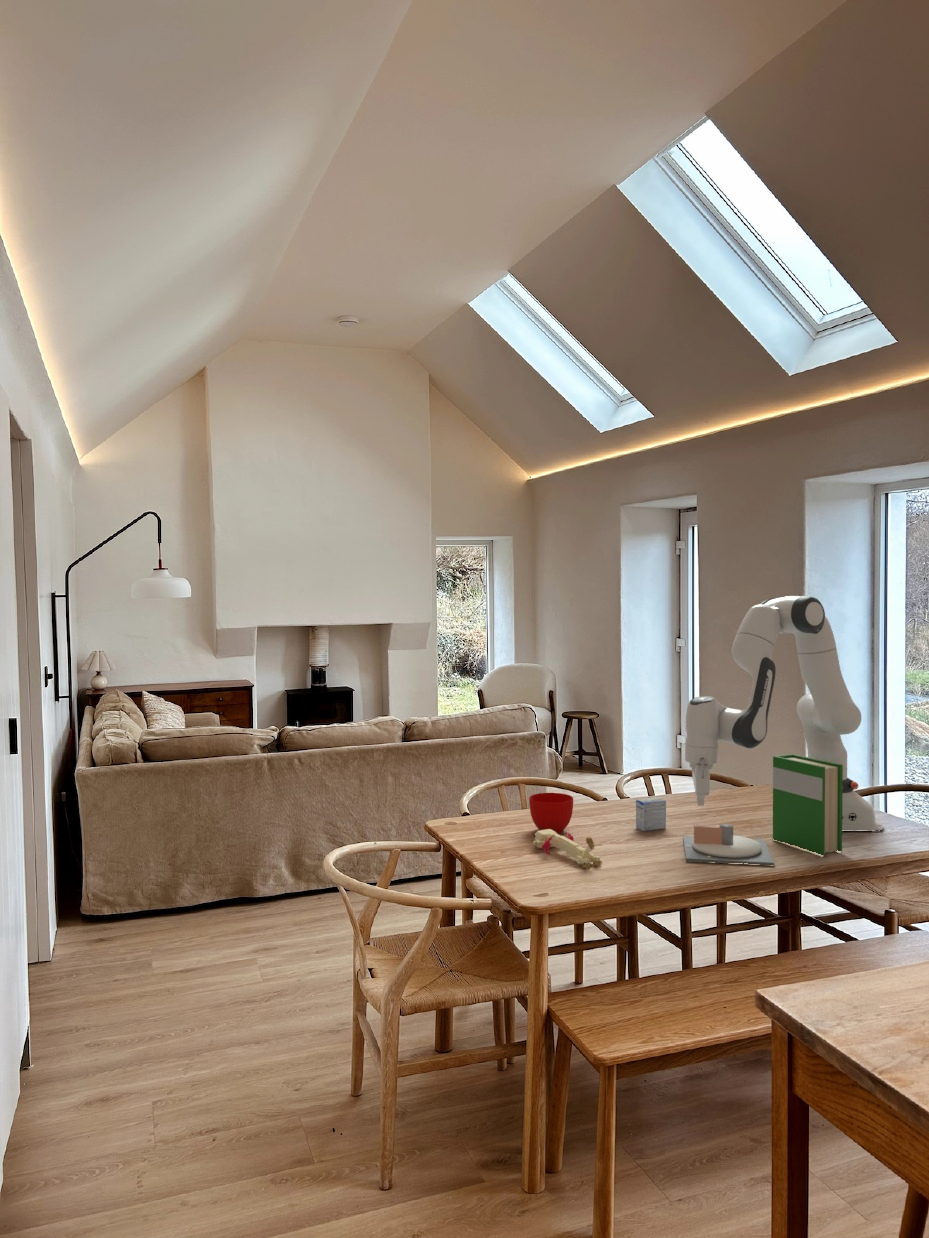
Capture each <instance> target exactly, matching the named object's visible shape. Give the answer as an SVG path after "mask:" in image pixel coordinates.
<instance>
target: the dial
mask: <svg viewBox="0 0 929 1238" xmlns="http://www.w3.org/2000/svg"><path fill="white" fill-rule="evenodd" d="M693 836H694V839H693V840H692V847H693V848H694V849H695V850H696V851H698V852H701V853H704V854H707V855H712V856H718V857H728V858H742V857H750V856H755V855H757V854H759V853H760V852H761V844H760V843H759V842H757V841H755V840H753V839H754V838H748V837H745V836H741V835H734V825H733V824H729V823H721V824H719V825H716V824H715V825H714V824H697V823H696V824H695V823H694V824H693Z"/></svg>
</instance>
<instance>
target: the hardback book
mask: <svg viewBox="0 0 929 1238" xmlns="http://www.w3.org/2000/svg"><path fill="white" fill-rule="evenodd" d="M842 786H843V765H841V764H837V763H832V762H828V761H823V760H818V759H814V758H809V757H808V756H803V755H799V754H793V753H790V754H782V755H774V756H772V840H773V839H774V840H777V841H780V842H785V843H788V844H790V845H795V846H798V847H800V848H803V849H807V850H809V851H812V852H816V853H818V854H821V855H824V856H825V854H827V853H826V852H829V853H835V852H834V851H837V850H838V851H842V852H843V832H842Z"/></svg>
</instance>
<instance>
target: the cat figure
mask: <svg viewBox="0 0 929 1238" xmlns="http://www.w3.org/2000/svg"><path fill="white" fill-rule="evenodd" d="M565 835H567V837H566V836H564V835H560V833H559V834H557V833H556V832H555V831H553V830H551V829H546V830H537V831H536V832H535V833H534V834H533V838H534V840H533V841H532V845H533V846H536V848H538V849H542V850H543V851H544V852H545V854H547V855H548V856H552V854H551V851H550V848H553V847H555V848H556V849H558V850H561V851H564V852H565V853H567V854H569V855H570V856H571V857H572V858H574V859H576V863H577V864H578V865H581V868H583V869H585V870H587V869H589V868H590V867H591V866H592V865H593V866H595V867H600V866H601V865H602V864H603V862H602V860H601V856H599V855H595V854H593V853H591V852H592V851H593V850H594V849H595V842H594V840H593V838H592V837H591V836H588V837H586V838H585V841H586V844H587V845H588V846H587V847H586V848H584V847H582V846H581V845H580V844H579V843H577V842H575V841H574V837H573V835H572V834H571V833H570V832H565ZM591 863H592V865H591Z"/></svg>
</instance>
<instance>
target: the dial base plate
mask: <svg viewBox="0 0 929 1238" xmlns="http://www.w3.org/2000/svg"><path fill="white" fill-rule="evenodd" d="M693 839H694V835H682V841H683V848H684V855H685V863H692V862H715V863H743V864H744V863H748V864H760V865H774V866H775V861H774V858H773V856H772V854H771V852H770V850H769V848H768V846H767V843H766V841H765V838H752V839H753V840H755V841H757V842H759V843H760V844H761V852H760V853H759V854H757V855H755V856H750V857H742V858H728V857H718V856H712V855H707V854H704V853H701V852H698V851H696V850H695V849H694V848H693V847H692V840H693Z"/></svg>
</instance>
